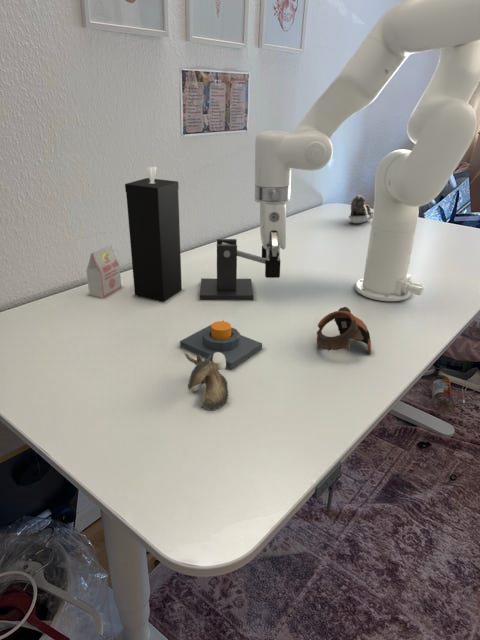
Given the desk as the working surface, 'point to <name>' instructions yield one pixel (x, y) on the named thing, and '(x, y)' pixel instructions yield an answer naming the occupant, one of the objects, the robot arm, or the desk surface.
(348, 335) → the brown curved open piece
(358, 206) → the bison figurine
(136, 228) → the black tall block
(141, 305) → the desk surface
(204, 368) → the furry animal figurine
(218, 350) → the control block
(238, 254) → the switch lever
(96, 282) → the strawberry milk carton
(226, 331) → the warm button
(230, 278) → the lever press stand
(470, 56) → the robot arm
